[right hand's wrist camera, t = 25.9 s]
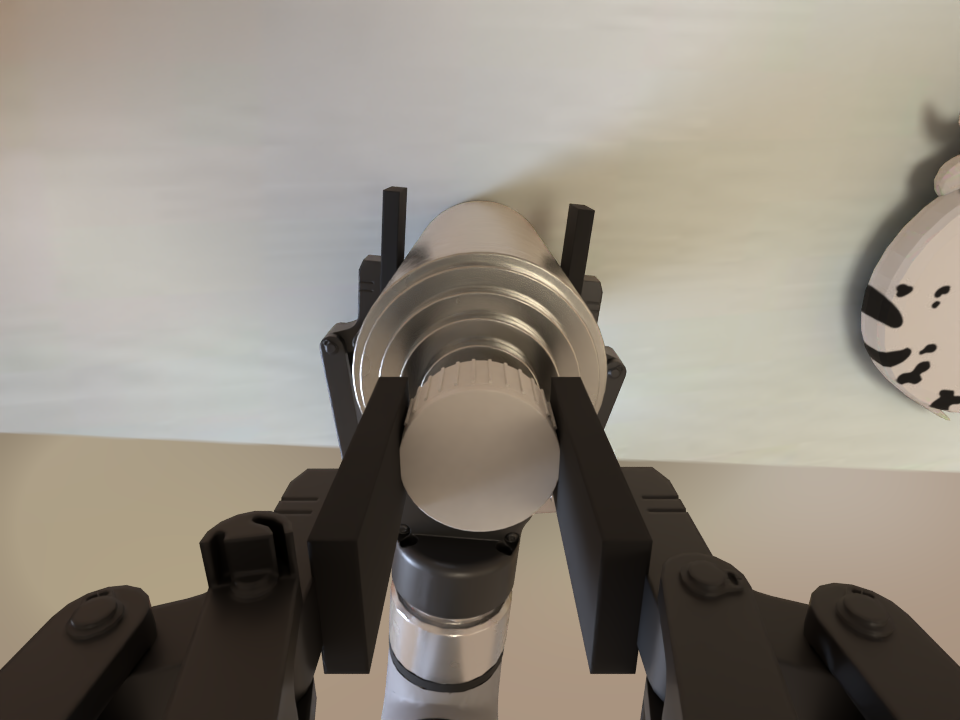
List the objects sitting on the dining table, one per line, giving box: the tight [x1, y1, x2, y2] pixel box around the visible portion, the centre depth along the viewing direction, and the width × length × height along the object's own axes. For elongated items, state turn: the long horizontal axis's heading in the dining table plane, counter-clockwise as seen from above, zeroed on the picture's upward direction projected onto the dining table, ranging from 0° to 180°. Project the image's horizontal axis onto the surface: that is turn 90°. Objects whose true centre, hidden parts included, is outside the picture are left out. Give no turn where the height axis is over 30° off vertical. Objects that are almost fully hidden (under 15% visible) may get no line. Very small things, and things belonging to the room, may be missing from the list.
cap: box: [400, 359, 560, 532], centre depth 14 cm, size 4×4×2 cm
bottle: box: [353, 201, 607, 415], centre depth 24 cm, size 8×8×22 cm
